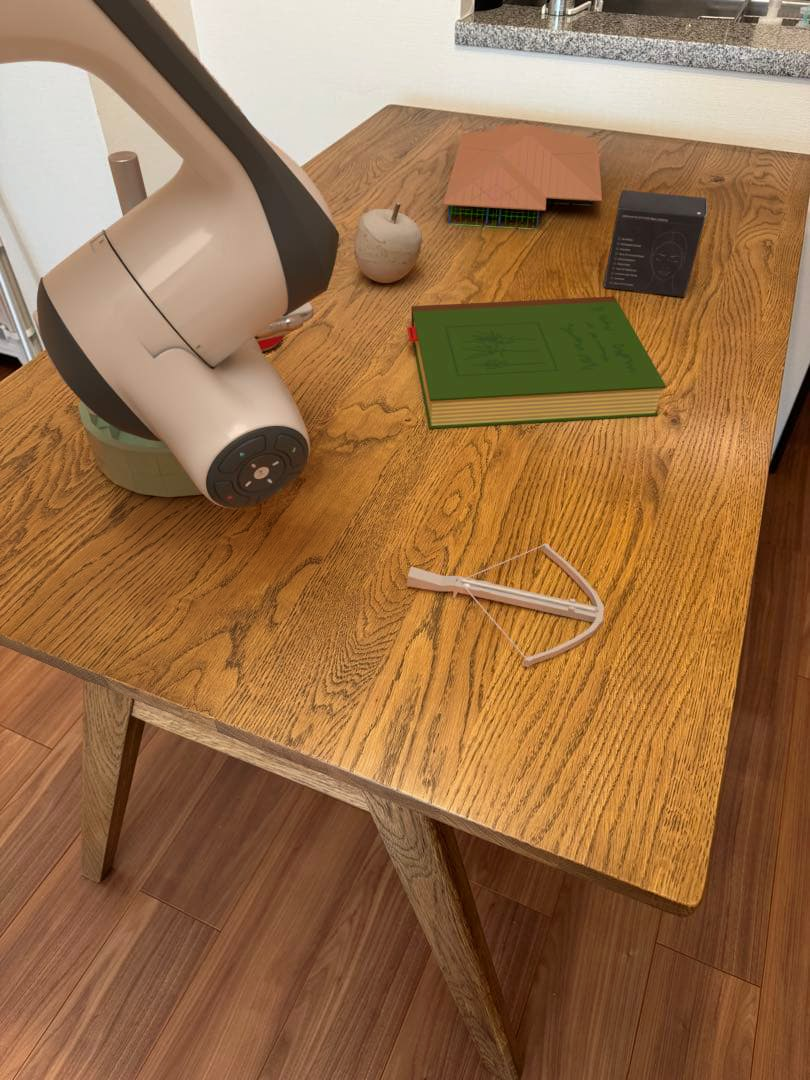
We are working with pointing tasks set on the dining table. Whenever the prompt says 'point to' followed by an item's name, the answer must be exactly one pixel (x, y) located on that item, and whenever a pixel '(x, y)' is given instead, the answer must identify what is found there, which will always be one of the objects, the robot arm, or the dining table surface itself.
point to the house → (522, 170)
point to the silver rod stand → (127, 179)
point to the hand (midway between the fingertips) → (150, 274)
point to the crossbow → (522, 599)
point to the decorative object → (386, 244)
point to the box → (655, 242)
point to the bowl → (136, 460)
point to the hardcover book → (531, 363)
